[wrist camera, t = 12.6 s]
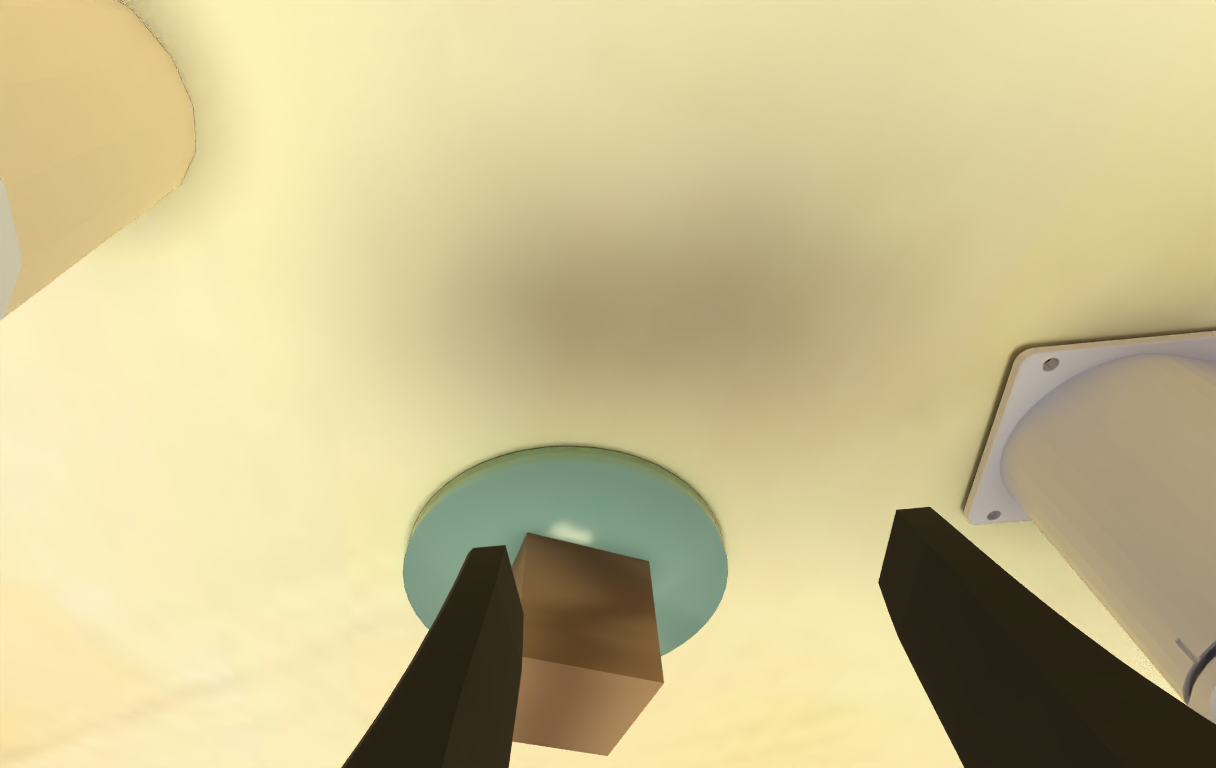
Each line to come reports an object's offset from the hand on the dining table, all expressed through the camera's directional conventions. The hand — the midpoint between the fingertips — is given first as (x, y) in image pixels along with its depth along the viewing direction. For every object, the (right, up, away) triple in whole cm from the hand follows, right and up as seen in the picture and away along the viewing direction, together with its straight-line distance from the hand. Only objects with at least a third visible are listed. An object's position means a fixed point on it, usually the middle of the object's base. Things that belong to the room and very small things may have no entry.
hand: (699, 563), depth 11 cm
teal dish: (-3, -4, +14) cm, 15 cm away
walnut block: (-3, -5, +13) cm, 14 cm away
